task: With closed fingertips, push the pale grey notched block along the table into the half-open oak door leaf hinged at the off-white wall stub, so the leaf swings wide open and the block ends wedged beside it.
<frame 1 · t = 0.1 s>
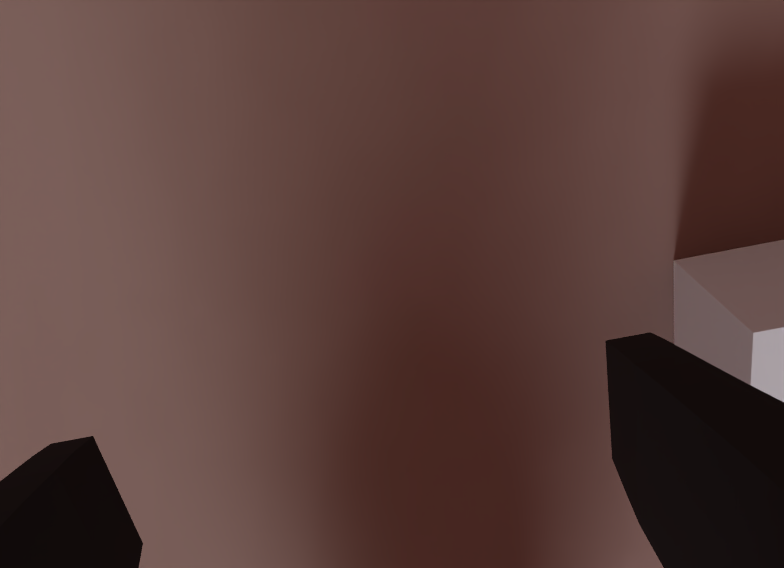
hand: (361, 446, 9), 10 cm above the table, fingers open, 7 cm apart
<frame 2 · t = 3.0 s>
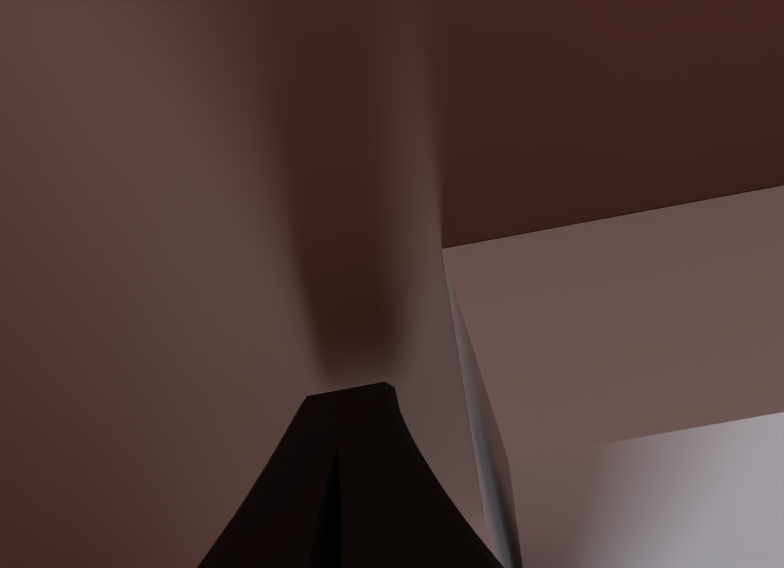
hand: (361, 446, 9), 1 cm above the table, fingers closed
pale grey notched block: (689, 355, 10), on the table, touching gripper
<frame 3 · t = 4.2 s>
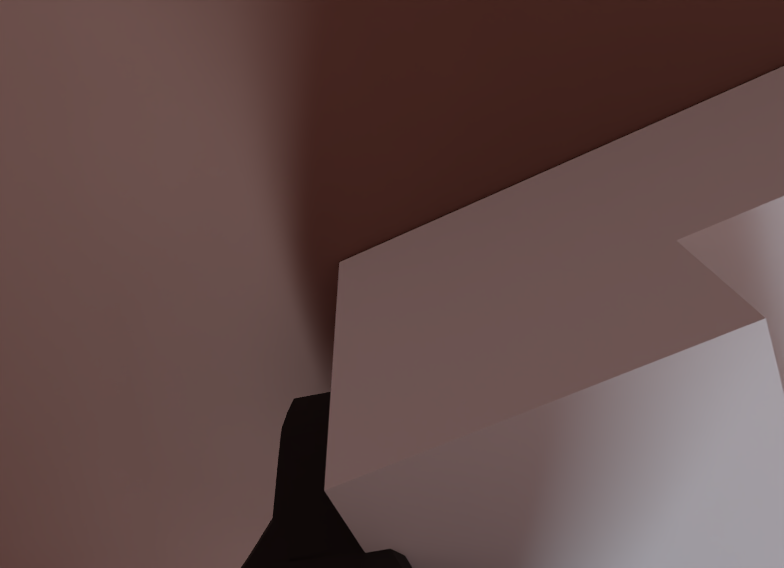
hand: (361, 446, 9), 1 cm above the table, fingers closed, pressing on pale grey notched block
pale grey notched block: (630, 309, 10), on the table, touching door, gripper
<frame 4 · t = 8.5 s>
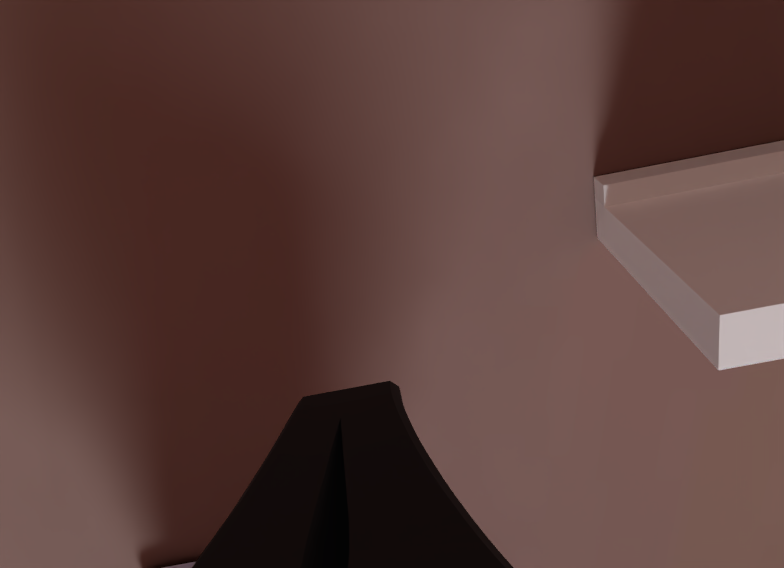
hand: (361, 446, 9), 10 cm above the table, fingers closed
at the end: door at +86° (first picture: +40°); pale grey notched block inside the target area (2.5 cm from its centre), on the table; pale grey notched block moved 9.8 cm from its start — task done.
